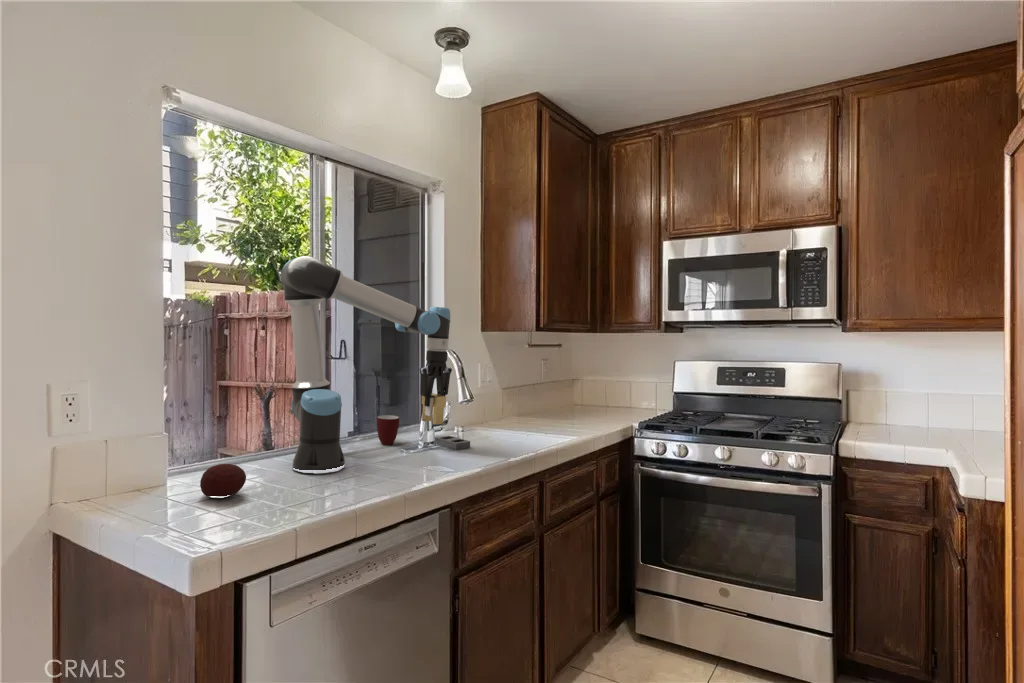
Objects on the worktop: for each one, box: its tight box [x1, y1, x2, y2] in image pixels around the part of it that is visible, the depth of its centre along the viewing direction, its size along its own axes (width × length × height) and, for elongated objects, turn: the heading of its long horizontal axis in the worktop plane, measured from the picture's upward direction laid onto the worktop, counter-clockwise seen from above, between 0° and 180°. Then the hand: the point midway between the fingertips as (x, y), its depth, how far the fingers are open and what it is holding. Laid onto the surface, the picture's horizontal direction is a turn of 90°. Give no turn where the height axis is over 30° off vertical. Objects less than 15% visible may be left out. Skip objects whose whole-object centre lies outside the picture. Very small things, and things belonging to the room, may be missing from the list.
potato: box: [199, 463, 247, 497], centre depth 147 cm, size 12×11×8 cm
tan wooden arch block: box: [421, 392, 447, 425], centre depth 208 cm, size 4×9×10 cm, turn 48°
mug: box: [376, 414, 400, 446], centre depth 214 cm, size 10×8×10 cm
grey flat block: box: [434, 435, 471, 451], centre depth 216 cm, size 7×12×2 cm, turn 48°
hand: (432, 414), depth 208 cm, fingers closed on tan wooden arch block, 3 cm apart
